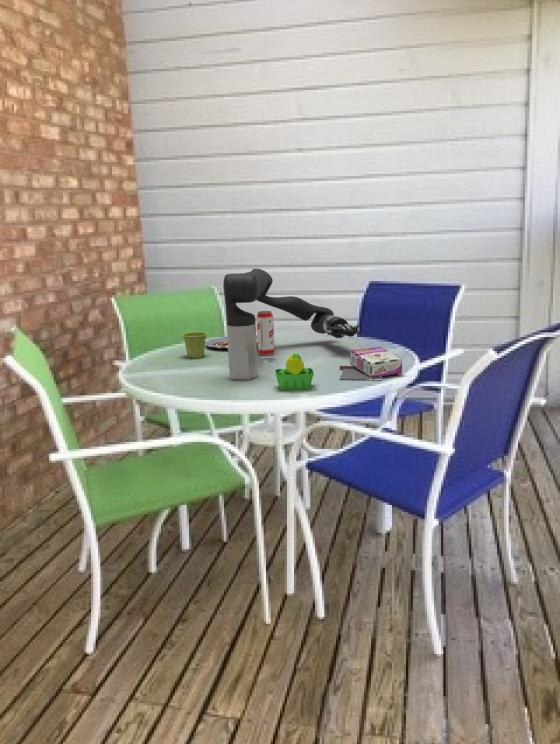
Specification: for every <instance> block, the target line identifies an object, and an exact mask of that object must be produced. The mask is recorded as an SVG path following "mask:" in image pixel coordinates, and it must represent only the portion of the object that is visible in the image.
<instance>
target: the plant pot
mask: <svg viewBox="0 0 560 744" xmlns="http://www.w3.org/2000/svg"><path fill="white" fill-rule="evenodd" d="M181 336H182V337H183V340H184V345H185V349H186V355H187V358H189V359H190V358H192V359H200V358H202V357H203V356H204V357H205V348H206V347H205V346H206V344H205V342H206V339H207V336H208V333H207V332H205V331H192V332H191V331H190V332H185V333H182V334H181Z"/></svg>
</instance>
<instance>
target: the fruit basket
mask: <svg viewBox="0 0 560 744" xmlns="http://www.w3.org/2000/svg"><path fill="white" fill-rule="evenodd" d="M304 365H305V363H304V360H303V359H302V356H301V355H300V354H299V353H297V352H293V353H292V354H290V355H289V356H288V358H287V360H286V362H285V368H276V369H275V370H274V373H275V374H274V375H275V378H276V379H277V383H278V386H279V388H278V389H279V390H280V391H291V390H292V391H293V390H310V389H311V386H312V381H313V378H314V375H315V373H314V372H315V371H314V369H313V368H312V367H305V366H304Z"/></svg>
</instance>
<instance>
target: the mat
mask: <svg viewBox="0 0 560 744" xmlns="http://www.w3.org/2000/svg"><path fill="white" fill-rule="evenodd" d="M382 377H383V378H384V376H381V377H380V376H378V377H372V378H370V377H369V376H368V375H366V374H365V373H363V372H362V371H360V370H359V369H344V370H342V373H341V375H340V377H339V380H340V381H370V380H369V379H382V380H383V378H382ZM367 379H368V380H367Z"/></svg>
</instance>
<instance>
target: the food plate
mask: <svg viewBox="0 0 560 744" xmlns="http://www.w3.org/2000/svg"><path fill="white" fill-rule="evenodd" d="M224 342H225V343H224ZM216 344H218V345H216ZM256 344H257V346H258V339H257V335H256ZM215 345H216V346H215ZM205 346H207V347H213V348H215V349H218V350H222V349H224V348H225V349H226V350H228V339H227V336H221V337H216V338H211V339H209V340H207V341H206V340H205Z"/></svg>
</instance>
